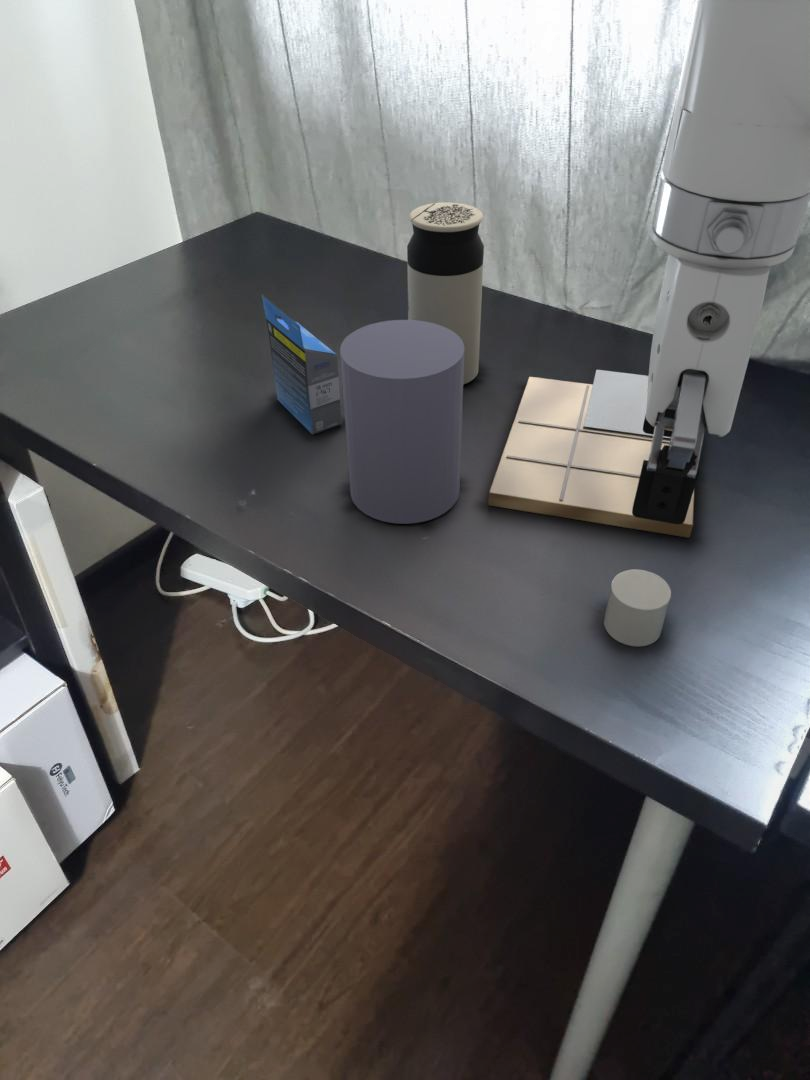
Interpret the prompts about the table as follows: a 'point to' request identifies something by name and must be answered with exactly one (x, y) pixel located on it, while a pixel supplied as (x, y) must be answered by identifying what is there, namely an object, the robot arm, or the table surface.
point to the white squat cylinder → (637, 607)
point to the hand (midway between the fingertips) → (661, 473)
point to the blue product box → (303, 372)
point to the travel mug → (448, 273)
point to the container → (403, 418)
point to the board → (580, 452)
